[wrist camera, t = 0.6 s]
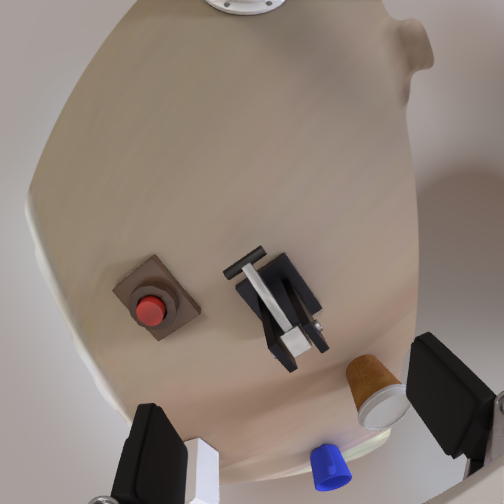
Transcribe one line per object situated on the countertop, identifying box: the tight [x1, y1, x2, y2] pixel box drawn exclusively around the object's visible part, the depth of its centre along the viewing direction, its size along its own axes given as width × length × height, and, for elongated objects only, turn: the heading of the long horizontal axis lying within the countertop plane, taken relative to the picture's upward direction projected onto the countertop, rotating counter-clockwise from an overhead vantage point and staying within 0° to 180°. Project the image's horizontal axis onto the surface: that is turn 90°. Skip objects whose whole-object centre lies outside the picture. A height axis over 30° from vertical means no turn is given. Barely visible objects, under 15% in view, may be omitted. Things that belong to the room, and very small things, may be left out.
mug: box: [310, 444, 352, 491], centre depth 49 cm, size 8×12×10 cm
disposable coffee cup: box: [346, 355, 412, 431], centre depth 41 cm, size 10×10×12 cm
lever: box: [223, 245, 312, 358], centre depth 31 cm, size 12×5×2 cm, turn 35°
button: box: [136, 296, 165, 326], centre depth 36 cm, size 4×4×2 cm
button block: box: [112, 255, 201, 341], centre depth 38 cm, size 10×8×4 cm
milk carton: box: [183, 438, 219, 504], centre depth 41 cm, size 7×7×19 cm
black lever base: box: [235, 253, 329, 373], centre depth 35 cm, size 10×8×13 cm
